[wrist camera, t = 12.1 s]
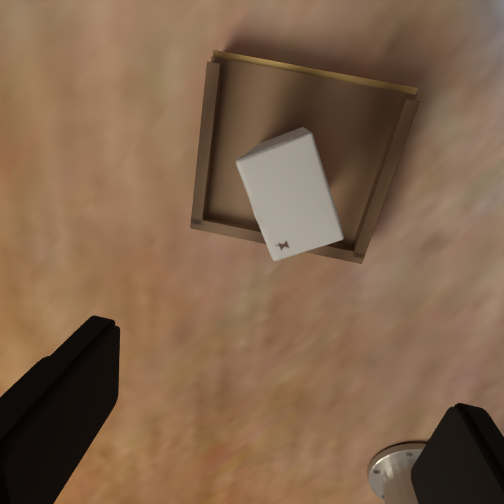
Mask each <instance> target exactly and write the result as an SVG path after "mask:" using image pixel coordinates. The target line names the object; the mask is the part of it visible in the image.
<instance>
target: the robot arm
mask: <svg viewBox="0 0 504 504" xmlns="http://www.w3.org/2000/svg"><path fill="white" fill-rule="evenodd" d="M119 351H120V328H119V327H118V326H115V321H114V320H111V319H107V318H103V317H99V316H95V315H94V316H91V317H90V318H89V319H88V320H87V321H86V322H85V323H84V324H83V325H82V326H80V327H79V328H78V329H77V330H76V331H75V332H74V333H73V334H72V335H71V336H70V337H69V338H68V339H67V340H66V341H65V342H64V343H63V344H62V345H61V346H60V347H59V348H58V349H57V350H56V351H55V352H54V353H53V354H52V355H50V356H47V357H44V358H42V359H41V360H40V361H38V362H37V363H36V364H35V365H34V366H33V367H32V368H31V369H30V370H29V371H28V372H27V373H26V374H24V375H23V376H22V377H21V378H20V379H19V380H18V381H17V382H16V383H15V384H14V385H13V386H12V387H11V388H10V389H9V390H7V391H6V392H5V393H4V394H3V395H2V396H1V397H0V504H53V503H54V502H55V500H56V499H57V497H58V496H59V494H60V492H61V491H62V489H63V488H64V486H65V484H66V483H67V481H68V480H69V478H70V476H71V475H72V473H73V472H74V470H75V468H76V467H77V465H78V464H79V462H80V460H81V459H82V457H83V456H84V454H85V453H86V451H87V449H88V448H89V446H90V445H91V443H92V441H93V440H94V438H95V437H96V435H97V433H98V432H99V430H100V429H101V427H102V425H103V424H104V422H105V421H106V419H107V418H108V416H109V414H110V413H111V411H112V410H113V408H114V406H115V404H116V401H117V398H118V387H119ZM367 473H368V480H369V485H370V487H371V489H372V490H373V492H374V493H375V494H376V495H377V496H378V497H380V498H381V499H382V500H384V501H385V504H504V437H503V435H502V434H501V432H500V431H499V429H498V428H497V426H496V425H495V423H494V422H493V420H492V419H491V417H490V416H489V414H488V413H487V412H486V410H484V409H482V408H479V407H475V406H471V405H467V404H463V403H458V404H456V405H455V406H454V407H450V408H449V409H448V410H447V412H446V413H445V415H444V416H443V418H442V420H441V421H440V423H439V425H438V426H437V428H436V429H435V431H434V433H433V434H432V436H431V438H430V439H429V441H428V442H427V444H423V443H407V444H401V445H397V446H393V447H390V448H388V449H386V450H384V451H382V452H381V453H379V454H378V455H377V456H376V457H375V458H374V459H373V460H372V461H371V463H370V464H369V467H368V470H367Z"/></svg>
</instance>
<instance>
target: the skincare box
mask: <svg viewBox="0 0 504 504" xmlns="http://www.w3.org/2000/svg"><path fill="white" fill-rule="evenodd" d="M236 165H237V168H238V171H239V173H240V176H241V178H242V181H243V184H244V186H245V189H246V192H247V194H248V197H249V200H250V203H251V206H252V210H253V213H254V215H255V218H256V220H257V222H258V224H259V227H260V229H261V232H262V235H263V237H264V240H265V242H266V245H267V247H268V250H269V252H270V255H271V257H272V259H273V261H278V260H281V259H284V258H287V257H290V256H293V255H296V254H299V253H303V252H306V251H309V250H312V249H315V248H318V247H321V246H325V245H328V244H331V243H334V242H337V241H340V240H343V239H344V236H343V233H342V229H341V225H340V221H339V217H338V214H337V210H336V207H335V203H334V200H333V197H332V194H331V191H330V188H329V185H328V182H327V179H326V176H325V172H324V169H323V166H322V162H321V159H320V156H319V153H318V150H317V147H316V144H315V140H314V136H313V133H312V132H310V131H309V130H307V129H306V128H304V127H301V128H299V129H296V130H293V131H291V132H288V133H285V134H283V135H280V136H277V137H275V138H272V139H270V140H267V141H265V142H262V143H259V144H258V145H256V146H255V147H254V148H252V149H251V150H250V151H248V152H247V153H246V154H244V155H243V156H241V157H240V158H238V159H237V160H236Z"/></svg>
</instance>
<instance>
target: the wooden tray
mask: <svg viewBox="0 0 504 504" xmlns="http://www.w3.org/2000/svg"><path fill="white" fill-rule="evenodd" d="M416 91H417V88H415V87H410V86H405V85H399V84H394V83H389V82H383V81H378V80H372V79H367V78H362V77H356V76H351V75H346V74H340V73H335V72H330V71H324V70H319V69H314V68H308V67H303V66H298V65H292V64H287V63H282V62H276V61H271V60H266V59H260V58H255V57H250V56H244V55H239V54H234V53H228V52H223V51H218V50H213V57H212V58H211V62H208V61H207V68H206V78H205V88H204V97H203V107H202V117H201V127H200V137H199V147H198V157H197V167H196V177H195V187H194V196H193V206H192V216H191V226H190V228H192V229H197V230H202V231H207V232H211V233H216V234H221V235H226V236H231V237H235V238H240V239H245V240H250V241H255V242H259V243H264V244H266V242H265V240H264V237H263V235H262V232H261V229H260V227H259V224H258V222H257V220H256V218H255V215H254V213H253V210H252V206H251V203H250V200H249V197H248V194H247V192H246V189H245V186H244V184H243V181H242V178H241V176H240V173H239V171H238V168H237V165H236V160H237V159H238V158H240V157H241V156H243V155H244V154H246V153H247V152H248V151H250V150H251V149H252V148H254V147H255V146H256V145H258V144H259V143H262V142H265V141H267V140H270V139H272V138H275V137H277V136H280V135H283V134H285V133H288V132H291V131H293V130H296V129H299V128H301V127H304V128H306V129H307V130H309V131H310V132H312V133H313V136H314V140H315V144H316V147H317V150H318V153H319V156H320V159H321V162H322V166H323V169H324V172H325V176H326V179H327V182H328V185H329V188H330V191H331V194H332V197H333V200H334V203H335V207H336V210H337V214H338V217H339V221H340V225H341V229H342V233H343V236H344V239H343V240H340V241H337V242H334V243H331V244H328V245H325V246H321V247H318V248H315V249H312V250H309V251H306V252H307V253H312V254H317V255H322V256H326V257H331V258H336V259H341V260H346V261H350V262H355V263H360V264H362V262H363V259H364V256H365V254H366V251H367V248H368V245H369V242H370V240H371V237H372V234H373V231H374V228H375V226H376V223H377V220H378V217H379V214H380V212H381V209H382V206H383V203H384V200H385V198H386V195H387V192H388V189H389V186H390V184H391V181H392V178H393V175H394V172H395V169H396V167H397V164H398V161H399V158H400V155H401V153H402V150H403V147H404V144H405V141H406V139H407V136H408V133H409V130H410V127H411V125H412V122H413V119H414V116H415V113H416V111H417V108H418V105H419V102H420V101H415V98H416V95H415V94H416Z"/></svg>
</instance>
